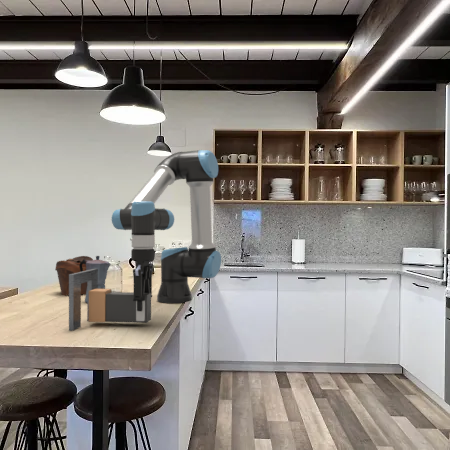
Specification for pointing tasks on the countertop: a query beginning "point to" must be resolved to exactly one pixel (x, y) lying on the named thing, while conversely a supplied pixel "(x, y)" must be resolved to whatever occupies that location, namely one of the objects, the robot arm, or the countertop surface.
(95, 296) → the plug
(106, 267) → the moka pot
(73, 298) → the grey arch
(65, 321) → the countertop surface
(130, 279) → the countertop surface
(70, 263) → the case
